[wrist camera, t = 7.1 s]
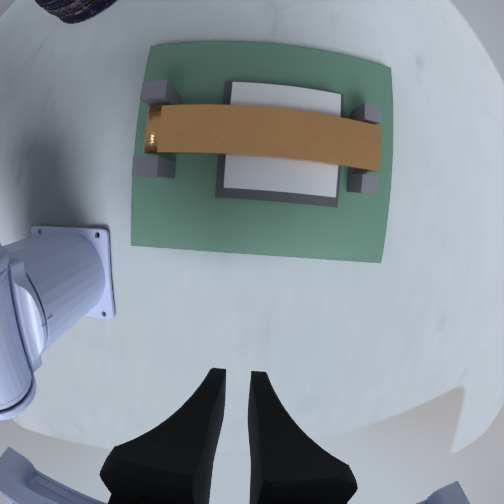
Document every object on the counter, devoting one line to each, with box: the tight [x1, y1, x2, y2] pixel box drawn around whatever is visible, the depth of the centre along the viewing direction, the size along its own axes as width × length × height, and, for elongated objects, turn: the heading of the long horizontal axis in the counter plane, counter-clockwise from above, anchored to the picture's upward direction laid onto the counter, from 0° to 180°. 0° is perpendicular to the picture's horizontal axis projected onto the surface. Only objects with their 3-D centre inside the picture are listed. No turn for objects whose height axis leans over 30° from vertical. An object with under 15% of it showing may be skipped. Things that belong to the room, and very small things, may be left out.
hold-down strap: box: [143, 104, 381, 173], centre depth 16 cm, size 15×3×2 cm, turn 86°
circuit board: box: [131, 41, 393, 263], centre depth 17 cm, size 19×16×5 cm
